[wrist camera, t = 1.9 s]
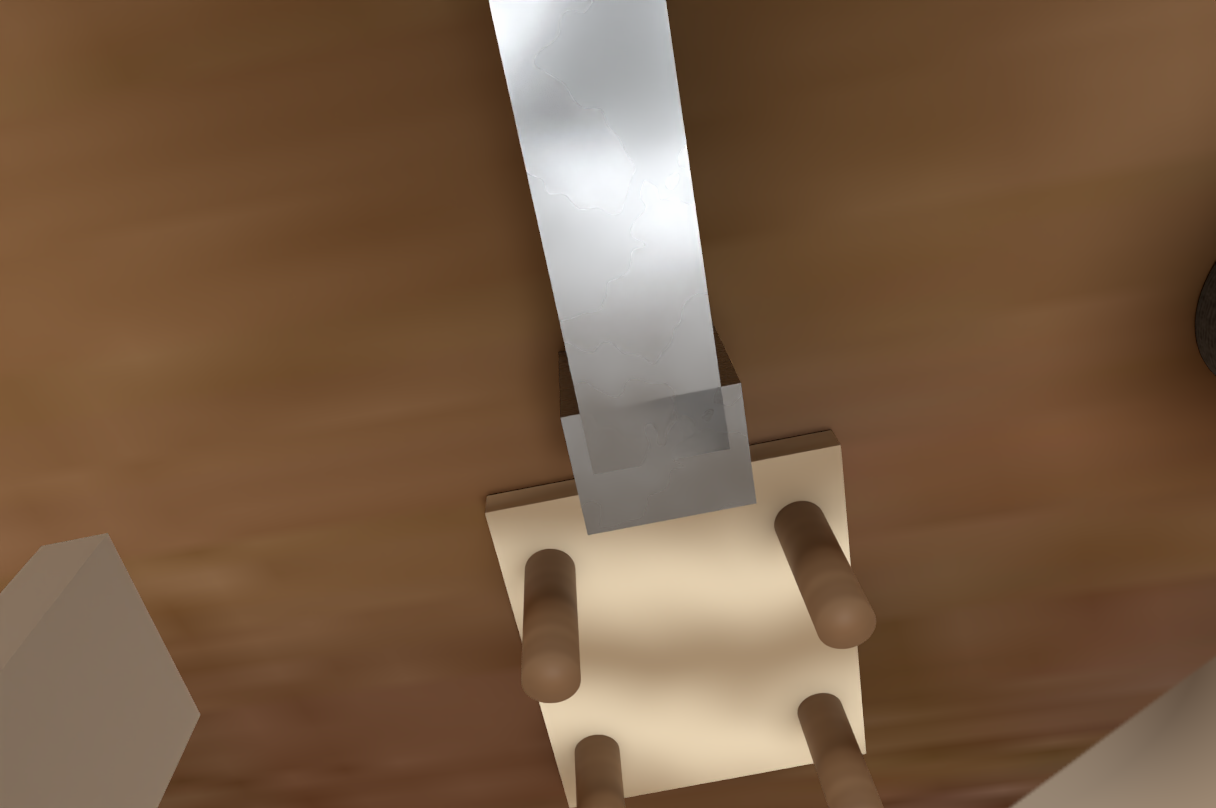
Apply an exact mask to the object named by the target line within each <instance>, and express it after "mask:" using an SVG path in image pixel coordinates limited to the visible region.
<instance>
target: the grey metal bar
mask: <svg viewBox="0 0 1216 808" xmlns="http://www.w3.org/2000/svg"><path fill="white" fill-rule="evenodd" d="M489 4H490V9H491V13H492V18H493V22H494V27H495V32H496V36H497V41H498V45H499V50H500V54H501V59H502V63H503V68H504V72H505V77H506V81H507V86H508V90H509V95H510V99H511V104H512V108H513V113H514V118H515V122H516V127H517V131H518V136H519V140H520V145H521V149H522V154H523V158H524V163H525V167H526V172H527V176H528V181H529V185H530V190H531V195H532V199H533V204H534V208H535V213H536V217H537V222H538V226H539V231H540V235H541V240H542V244H543V249H544V253H545V258H546V262H547V267H548V271H549V276H550V281H551V285H552V290H553V294H554V299H555V303H556V308H557V312H558V317H559V321H560V326H561V330H562V335H563V339H564V344H565V348H566V351H561V352H558V353H559V386H560V418H561V422H562V426H563V431H564V435H565V439H566V444H567V448H568V452H569V457H570V461H571V465H572V470H573V474H574V478H575V483H576V487H577V491H578V496H579V500H580V504H581V508H582V513H583V517H584V521H585V526H586V530H587V534H588V535H592V534H597V533H603V532H608V531H613V530H619V529H624V528H629V527H634V526H640V525H645V524H650V523H656V522H661V521H666V520H671V519H677V518H682V517H687V516H693V515H698V514H703V513H708V512H714V511H719V510H724V509H730V508H735V507H740V506H745V505H751V504H756V503H757V502H756V495H755V487H754V480H753V472H752V464H751V457H750V449H749V442H748V434H747V427H746V419H745V412H744V404H743V396H742V389H741V383H740V380H739V378H738V376H737V374H736V372H735V370H734V368H733V365H732V363H731V361H730V359H729V357H728V355H727V353H726V350H725V348H724V346H723V344H722V342H721V340H720V338H719V336H718V333H717V331H716V329H715V327H714V325H713V323H712V320H711V313H710V306H709V299H708V292H707V285H706V278H705V271H704V264H703V257H702V250H701V243H700V236H699V229H698V222H697V215H696V208H695V201H694V194H693V187H692V180H691V173H690V166H689V159H688V152H687V145H686V138H685V131H684V124H683V117H682V110H681V103H680V96H679V89H678V82H677V75H676V68H675V61H674V54H673V47H672V40H671V33H670V26H669V19H668V12H667V5H666V0H489Z"/></svg>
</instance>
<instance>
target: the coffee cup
mask: <svg viewBox="0 0 1216 808" xmlns="http://www.w3.org/2000/svg"><path fill="white" fill-rule="evenodd" d="M1195 329H1196V339H1197V344H1198V348H1199V351H1200V353H1201V356H1202V358H1203V360H1204V362H1205V363H1206V365H1207V366H1208V368H1209V369H1210V370H1211V371H1212V372H1213V373H1214V374H1215V375H1216V264H1215V265H1214V267H1213V269H1212V270H1211V272H1210V274H1209V276H1208V278H1207V280H1206V282H1205V284H1204V287H1203V289H1202V292H1201V295H1200V298H1199V302H1198V307H1197V312H1196V323H1195Z"/></svg>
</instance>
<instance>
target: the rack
mask: <svg viewBox="0 0 1216 808" xmlns="http://www.w3.org/2000/svg"><path fill="white" fill-rule="evenodd" d="M749 449H750V457H751V464H752V472H753V480H754V487H755V495H756V502H757V503H756V504H751V505H745V506H740V507H735V508H730V509H724V510H719V511H714V512H708V513H703V514H698V515H693V516H687V517H682V518H677V519H671V520H666V521H661V522H656V523H650V524H645V525H640V526H634V527H629V528H624V529H619V530H613V531H608V532H603V533H597V534H592V535H588V534H587V530H586V526H585V521H584V517H583V513H582V508H581V504H580V500H579V496H578V491H577V487H576V483H575V479H573V480H568V481H562V482H557V483H552V484H547V485H542V486H536V487H531V488H526V489H521V490H515V491H510V492H505V493H500V494H495V495H489V496H487V499H486V508H485V515H486V518H487V522H488V525H489V529H490V532H491V536H492V539H493V543H494V546H495V550H496V553H497V557H498V560H499V564H500V567H501V571H502V574H503V578H504V581H505V585H506V588H507V592H508V595H509V599H510V602H511V606H512V609H513V612H514V616H515V619H516V623H517V626H518V630H519V633H520V637H521V640H522V667H521V685H522V688H523V690H524V692H525V693H526V694H527V695H528V696H529V697H531V698H532V699H534V700H536V701H539V703H540V706H541V710H542V713H543V717H544V720H545V724H546V727H547V731H548V734H549V738H550V741H551V745H552V748H553V752H554V755H555V759H556V762H557V766H558V769H559V773H560V776H561V780H562V783H563V787H564V790H565V793H566V797H567V800H568V804H569V807H570V808H572V807H577V808H625V801H624V798H626V797H632V796H637V795H643V794H648V793H654V792H659V791H665V790H670V789H676V788H681V787H686V786H692V785H697V784H703V783H708V782H714V781H719V780H725V779H730V778H736V777H741V776H746V775H752V774H757V773H763V772H768V771H774V770H779V769H785V768H790V767H796V766H801V765H806V764H812V763H814V766H815V769H816V772H817V775H818V778H819V781H820V783H821V786H822V789H823V792H824V795H825V798H826V801H827V804H828V807H829V808H884V807H883V805H882V802H881V800H880V797H879V795H878V792H877V790H876V787H875V785H874V782H873V780H872V777H871V775H870V772H869V770H868V768H867V765H866V763H865V760H864V758H863V755H862V754H866V747H865V735H864V723H863V710H862V698H861V686H860V674H859V662H858V649H857V646H858V645H860V644H862V643H863V642H865V641H866V640H867V639H868V638H869V637H870V636H871V635H872V633H873V631H874V629H875V627H876V616H875V613H874V611H873V609H872V607H871V605H870V603H869V602H868V600H867V598H866V596H865V594H864V592H863V590H862V588H861V586H860V584H859V582H858V580H857V578H856V576H855V574H854V572H853V570H852V568H851V564H850V552H849V540H848V527H847V515H846V503H845V491H844V479H843V466H842V454H841V445H840V443H839V441H838V440H837V438H836V437H835V435H834V433H833V432H832V430H829V431H823V432H818V433H813V434H808V435H803V436H797V437H792V438H787V439H782V440H776V441H771V442H766V443H761V444H756V445H750V446H749Z"/></svg>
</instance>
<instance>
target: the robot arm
mask: <svg viewBox="0 0 1216 808" xmlns="http://www.w3.org/2000/svg"><path fill="white" fill-rule="evenodd" d="M199 717H200V713H199V711H198V709H197V707H196V705H195V703H194V701H193V699H192V697H191V695H190V693H189V691H188V689H187V687H186V685H185V683H184V682H183V680H182V678H181V676H180V674H179V672H178V670H177V668H176V666H175V664H174V662H173V660H172V658H171V656H170V654H169V652H168V650H167V648H166V646H165V644H164V642H163V640H162V638H161V637H160V635H159V633H158V631H157V629H156V627H155V625H154V623H153V621H152V619H151V617H150V615H149V613H148V611H147V609H146V607H145V605H144V603H143V601H142V599H141V597H140V595H139V593H138V592H137V590H136V588H135V586H134V584H133V582H132V580H131V578H130V576H129V574H128V572H127V570H126V568H125V566H124V564H123V562H122V560H121V558H120V556H119V554H118V552H117V550H116V548H115V546H114V545H113V543H112V541H111V539H110V537H109V535H108V533H106V534H101V535H96V536H91V537H85V538H80V539H75V540H70V541H65V542H60V543H55V544H50V545H45V546H41V547H40V548H39V550H38V551H37V552H36V553H35V554H34V555H33V556H32V558H31V559H30V560H29V561H28V562H27V563H26V565H25V566H24V567H23V568H22V569H21V570H20V571H19V573H18V574H17V575H16V576H15V577H14V578H13V579H12V581H11V582H10V583H9V584H8V585H7V586H6V587H5V589H4V590H3V591H2V592H1V593H0V808H157V807H158V805H159V803H160V801H161V799H162V797H163V794H164V792H165V790H166V788H167V786H168V784H169V781H170V779H171V777H172V775H173V773H174V771H175V768H176V766H177V764H178V762H179V760H180V758H181V755H182V753H183V751H184V749H185V747H186V745H187V742H188V740H189V738H190V736H191V734H192V732H193V730H194V727H195V725H196V723H197V721H198V719H199Z"/></svg>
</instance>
